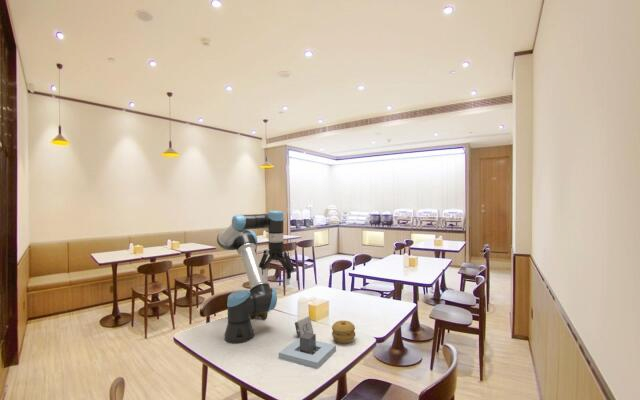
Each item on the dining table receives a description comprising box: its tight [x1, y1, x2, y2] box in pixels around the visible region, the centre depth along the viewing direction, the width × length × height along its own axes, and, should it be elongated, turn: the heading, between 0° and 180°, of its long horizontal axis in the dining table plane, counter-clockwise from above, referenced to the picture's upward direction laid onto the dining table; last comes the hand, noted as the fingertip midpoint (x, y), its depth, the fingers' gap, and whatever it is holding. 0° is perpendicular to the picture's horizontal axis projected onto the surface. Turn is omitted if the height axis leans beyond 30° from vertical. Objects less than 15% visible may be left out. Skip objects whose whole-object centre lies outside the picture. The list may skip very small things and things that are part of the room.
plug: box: [299, 332, 317, 355], centre depth 142 cm, size 5×6×8 cm
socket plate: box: [278, 337, 337, 369], centre depth 142 cm, size 20×18×2 cm
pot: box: [331, 320, 356, 344], centre depth 155 cm, size 12×12×10 cm
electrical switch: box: [294, 316, 315, 339], centre depth 162 cm, size 9×5×9 cm, turn 141°
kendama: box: [250, 311, 269, 321], centre depth 192 cm, size 6×10×20 cm
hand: (276, 283), depth 155 cm, fingers open, 13 cm apart
